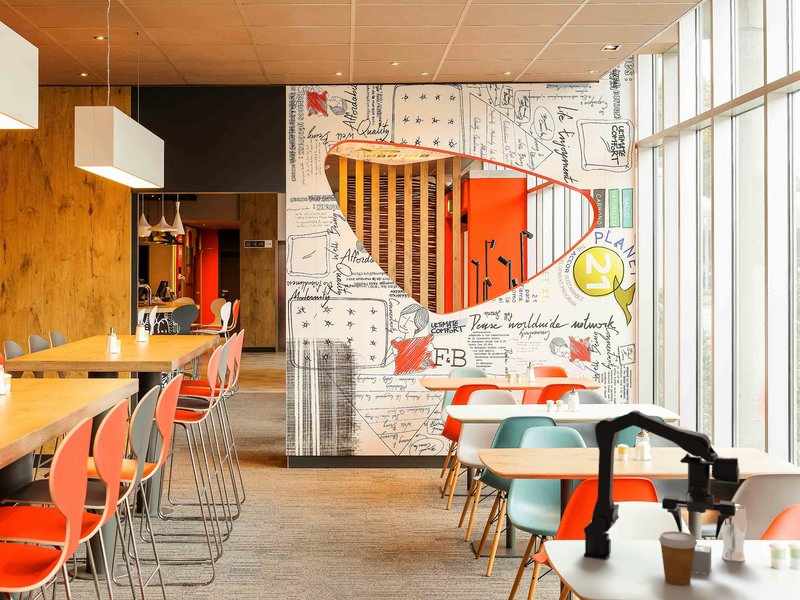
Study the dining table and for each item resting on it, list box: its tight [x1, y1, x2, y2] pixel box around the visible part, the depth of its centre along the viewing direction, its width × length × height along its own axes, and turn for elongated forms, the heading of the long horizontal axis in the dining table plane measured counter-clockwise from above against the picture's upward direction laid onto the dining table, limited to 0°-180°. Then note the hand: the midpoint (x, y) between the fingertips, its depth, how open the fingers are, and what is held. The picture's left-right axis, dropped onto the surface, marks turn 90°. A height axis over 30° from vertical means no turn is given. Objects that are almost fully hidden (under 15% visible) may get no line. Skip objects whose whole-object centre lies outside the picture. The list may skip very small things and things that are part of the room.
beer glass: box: [720, 503, 747, 563], centre depth 237 cm, size 7×7×15 cm
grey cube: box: [692, 544, 712, 575], centre depth 227 cm, size 6×6×6 cm
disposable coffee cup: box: [658, 530, 698, 586], centre depth 217 cm, size 10×10×12 cm
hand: (698, 536), depth 227 cm, fingers open, 9 cm apart
